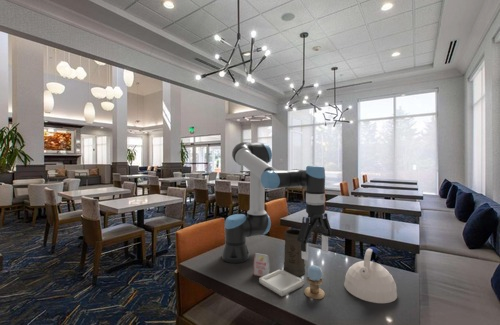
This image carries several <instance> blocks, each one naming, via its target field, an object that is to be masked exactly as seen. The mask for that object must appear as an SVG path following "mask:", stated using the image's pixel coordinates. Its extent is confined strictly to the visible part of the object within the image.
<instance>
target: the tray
mask: <svg viewBox="0 0 500 325" xmlns="http://www.w3.org/2000/svg"><path fill="white" fill-rule="evenodd" d="M258 283H259V284H260V285H262V286H264V287H266V288H267V289H268V290H270V291H272V292H274V293H276V294H277V295H278V296H280V297H284V296H286V295H288V294H291V293H292V292H294V291H296V290H298V289H299V288H301V287H303V286H305V279H302V278H301V277H299V276H294V275H292V274H290V273H288V272H286V271H284V270H283V269H282V268H280V269H277V270H275V271H272V272H270V273H269V274H267V275H265V276H263V277H261V276H259V278H258Z"/></svg>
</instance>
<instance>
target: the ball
mask: <svg viewBox="0 0 500 325" xmlns="http://www.w3.org/2000/svg"><path fill="white" fill-rule="evenodd" d="M306 273H307V277H309V278H310V279H311V280H312V281H318V280H320V279H321V278H322V277H323V271H322V269H321V267H320V266H318V265H315V264H312V265H310V266H308V267H307V270H306Z"/></svg>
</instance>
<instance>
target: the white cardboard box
mask: <svg viewBox="0 0 500 325" xmlns="http://www.w3.org/2000/svg"><path fill="white" fill-rule="evenodd" d="M270 263H271V262H270V258H269V255H268V254H264V253H257V252H255V253H254V258H253V276H257V277H263V276H265V275H267V274H270V273H271V270H270V267H271V266H270V265H271V264H270Z"/></svg>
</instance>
